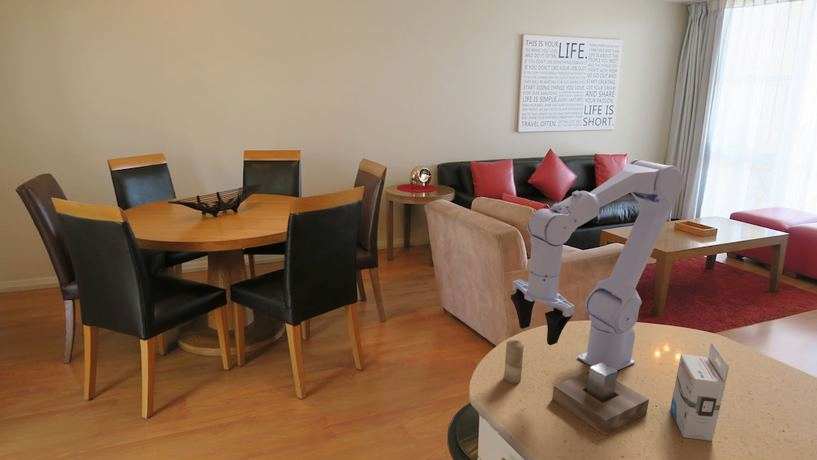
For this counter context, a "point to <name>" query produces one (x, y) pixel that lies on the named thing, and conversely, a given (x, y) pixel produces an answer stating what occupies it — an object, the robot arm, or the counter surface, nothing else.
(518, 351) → the round dowel
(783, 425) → the counter surface
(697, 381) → the ink box
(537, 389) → the counter surface
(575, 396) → the bore block
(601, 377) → the square bit
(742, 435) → the counter surface
